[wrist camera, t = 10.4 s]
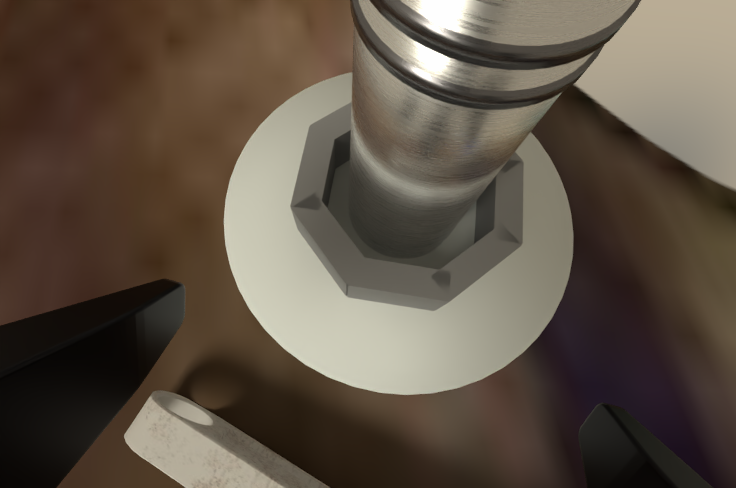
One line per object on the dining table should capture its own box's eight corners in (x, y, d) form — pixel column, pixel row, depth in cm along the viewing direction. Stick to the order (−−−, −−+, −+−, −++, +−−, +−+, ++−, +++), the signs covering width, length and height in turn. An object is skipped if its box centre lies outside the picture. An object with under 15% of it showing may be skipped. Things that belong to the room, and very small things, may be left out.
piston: (403, 284, 17) (569, 54, 4) (322, 204, 18) (276, -162, 5) (478, 210, 18) (759, -119, 6) (400, 140, 19) (500, -265, 7)
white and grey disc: (560, 419, 17) (623, 434, 13) (189, 361, 17) (143, 359, 13) (554, 113, 22) (597, 61, 19) (275, 66, 22) (261, 3, 18)
